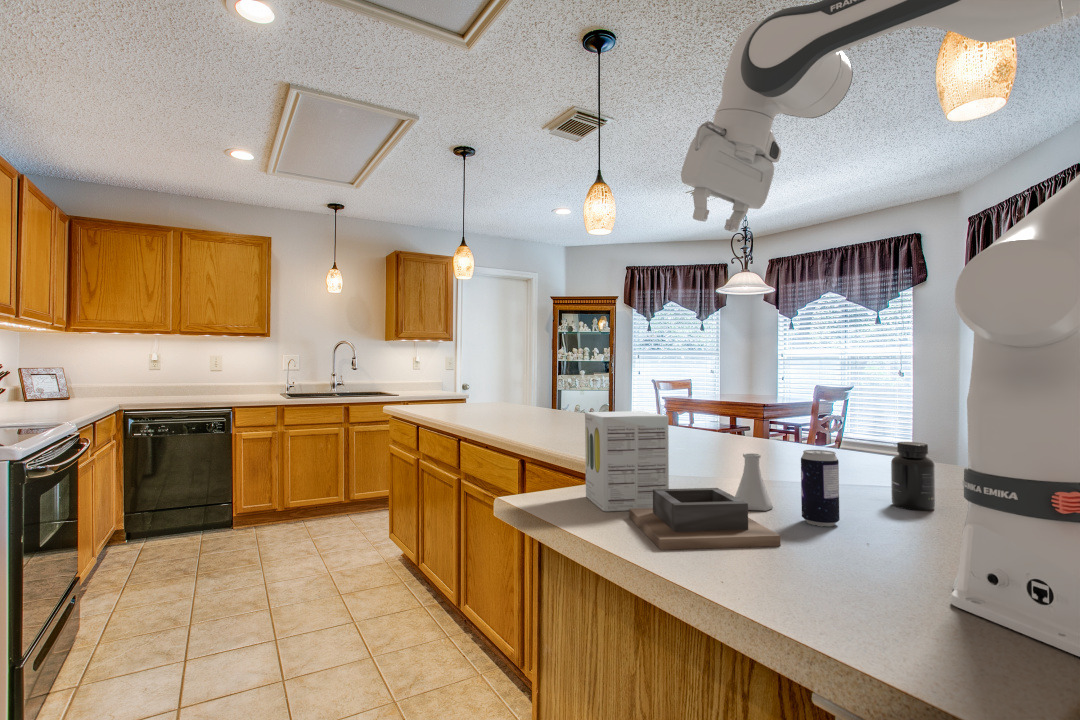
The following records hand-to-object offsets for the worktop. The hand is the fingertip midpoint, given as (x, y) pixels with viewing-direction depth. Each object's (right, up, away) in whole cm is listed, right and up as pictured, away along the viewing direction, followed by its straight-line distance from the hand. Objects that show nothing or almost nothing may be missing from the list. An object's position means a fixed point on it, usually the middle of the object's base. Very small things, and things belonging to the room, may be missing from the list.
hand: (715, 225), depth 89 cm
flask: (+12, -50, +15) cm, 53 cm away
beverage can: (+19, -50, +3) cm, 53 cm away
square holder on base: (-3, -49, -1) cm, 49 cm away
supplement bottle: (+42, -50, +14) cm, 66 cm away
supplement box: (-12, -50, +19) cm, 55 cm away
